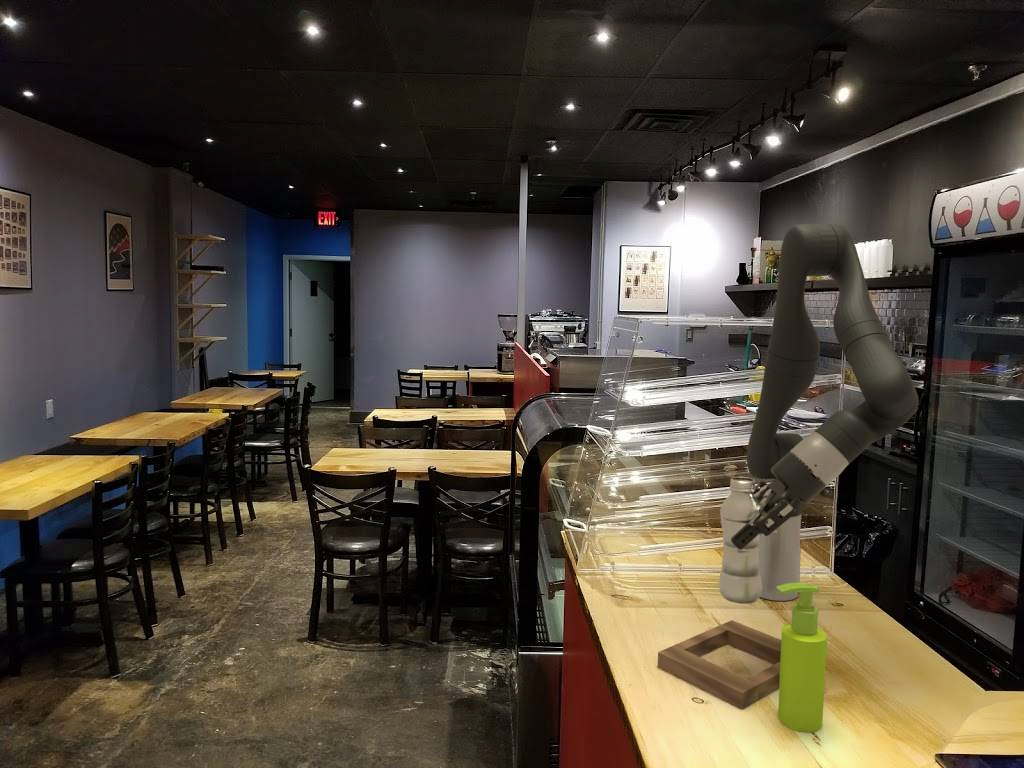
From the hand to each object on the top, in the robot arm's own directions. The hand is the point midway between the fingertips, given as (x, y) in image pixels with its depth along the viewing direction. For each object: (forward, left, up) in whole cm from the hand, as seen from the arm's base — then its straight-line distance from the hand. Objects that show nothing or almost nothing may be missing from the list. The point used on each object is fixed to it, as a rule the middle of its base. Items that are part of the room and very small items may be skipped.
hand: (730, 538), depth 116 cm
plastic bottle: (-1, +1, -10) cm, 11 cm away
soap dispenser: (+5, +16, -22) cm, 27 cm away
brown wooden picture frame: (-1, +1, -22) cm, 22 cm away
